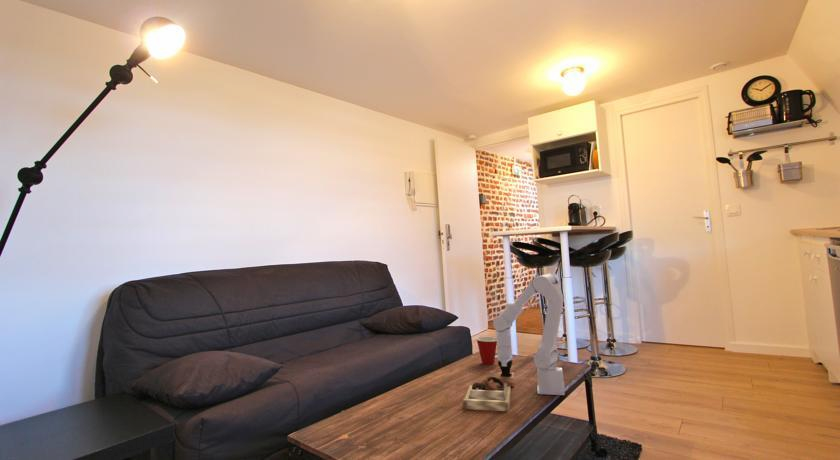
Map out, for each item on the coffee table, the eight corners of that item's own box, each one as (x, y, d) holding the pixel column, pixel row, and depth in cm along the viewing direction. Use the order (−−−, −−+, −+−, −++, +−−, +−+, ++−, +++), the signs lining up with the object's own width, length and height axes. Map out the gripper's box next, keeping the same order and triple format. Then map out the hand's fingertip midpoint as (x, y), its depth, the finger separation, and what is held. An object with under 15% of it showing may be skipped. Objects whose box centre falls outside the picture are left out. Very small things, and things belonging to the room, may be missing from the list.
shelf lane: (510, 393, 147) (510, 385, 148) (508, 411, 132) (508, 402, 132) (470, 391, 152) (469, 383, 152) (463, 408, 136) (463, 400, 136)
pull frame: (514, 381, 159) (513, 371, 160) (512, 404, 137) (511, 392, 137) (478, 380, 163) (477, 370, 164) (470, 401, 141) (469, 390, 141)
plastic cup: (504, 363, 185) (503, 337, 186) (487, 367, 180) (485, 341, 180) (489, 358, 195) (488, 334, 195) (472, 362, 189) (471, 337, 190)
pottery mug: (493, 391, 151) (500, 374, 149) (502, 410, 143) (510, 393, 140) (465, 388, 148) (472, 371, 145) (473, 408, 139) (481, 390, 137)
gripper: (495, 341, 167) (497, 373, 166) (492, 350, 153) (495, 385, 152) (512, 341, 165) (514, 373, 165) (511, 350, 151) (513, 385, 151)
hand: (506, 379), depth 158 cm, fingers closed
